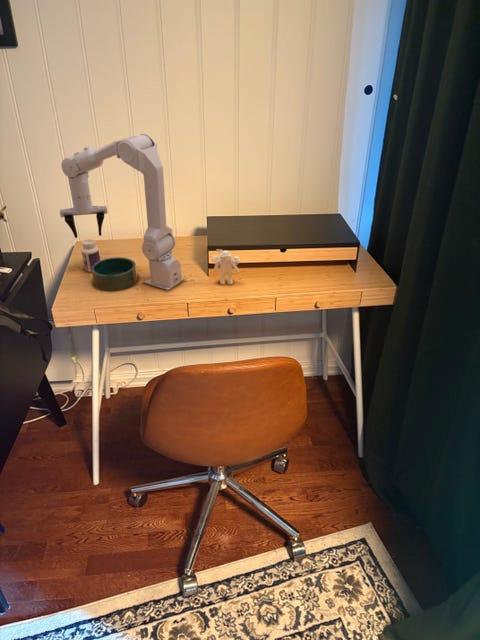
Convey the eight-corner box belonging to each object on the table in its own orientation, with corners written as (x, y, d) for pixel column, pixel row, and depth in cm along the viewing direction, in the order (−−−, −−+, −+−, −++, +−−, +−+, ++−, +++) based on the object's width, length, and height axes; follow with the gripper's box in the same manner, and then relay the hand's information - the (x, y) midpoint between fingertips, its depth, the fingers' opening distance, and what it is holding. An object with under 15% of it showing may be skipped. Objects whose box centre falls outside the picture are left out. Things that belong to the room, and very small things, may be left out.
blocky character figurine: (211, 284, 150) (210, 250, 144) (213, 279, 154) (212, 244, 147) (240, 285, 150) (240, 250, 143) (241, 280, 153) (241, 245, 147)
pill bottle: (103, 265, 162) (99, 238, 157) (98, 272, 158) (93, 245, 152) (88, 264, 163) (83, 238, 157) (82, 271, 158) (77, 244, 153)
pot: (138, 269, 159) (136, 256, 157) (136, 289, 148) (134, 275, 145) (96, 272, 158) (94, 258, 155) (91, 292, 146) (88, 277, 144)
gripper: (104, 189, 155) (110, 229, 162) (57, 193, 152) (66, 233, 159) (104, 196, 149) (110, 237, 156) (56, 200, 146) (64, 241, 153)
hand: (88, 235), depth 157 cm, fingers open, 7 cm apart
